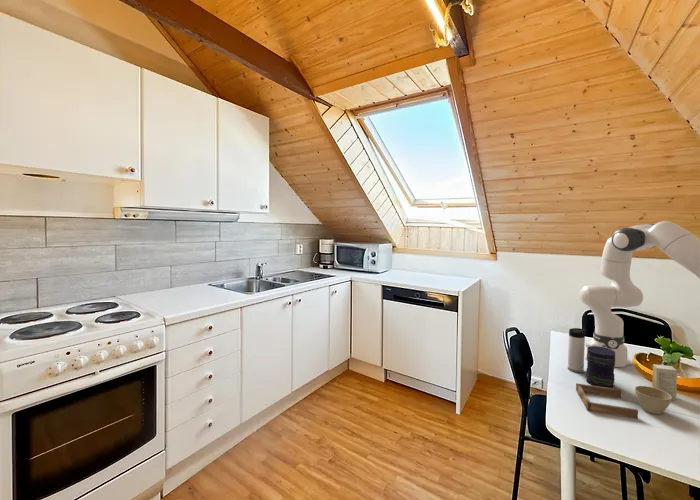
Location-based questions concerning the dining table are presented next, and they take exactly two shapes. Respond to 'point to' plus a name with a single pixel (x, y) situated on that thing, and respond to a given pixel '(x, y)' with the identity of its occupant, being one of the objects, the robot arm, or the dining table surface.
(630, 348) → the dining table surface
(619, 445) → the dining table surface
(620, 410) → the frame
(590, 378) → the storage jar
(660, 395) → the beige bowl
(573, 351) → the travel mug
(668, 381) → the skincare box
